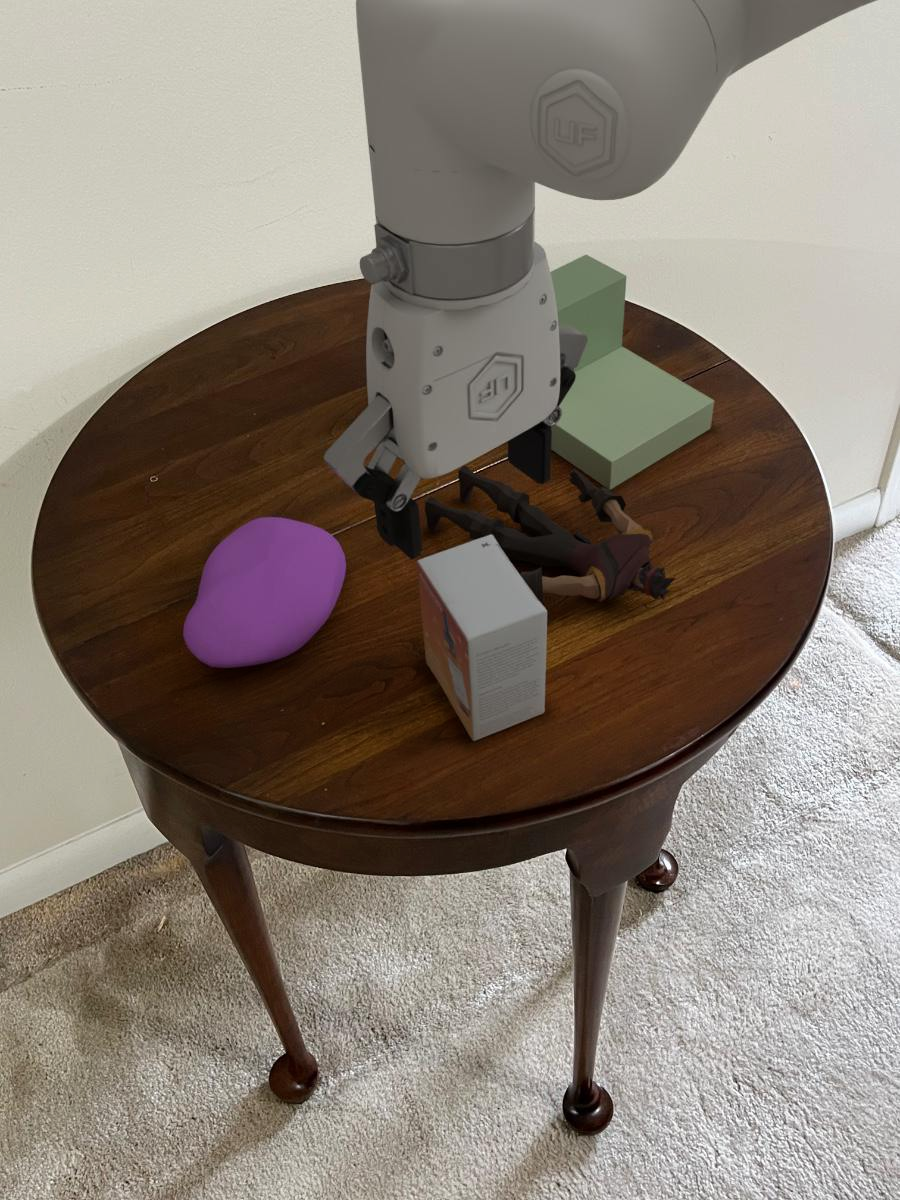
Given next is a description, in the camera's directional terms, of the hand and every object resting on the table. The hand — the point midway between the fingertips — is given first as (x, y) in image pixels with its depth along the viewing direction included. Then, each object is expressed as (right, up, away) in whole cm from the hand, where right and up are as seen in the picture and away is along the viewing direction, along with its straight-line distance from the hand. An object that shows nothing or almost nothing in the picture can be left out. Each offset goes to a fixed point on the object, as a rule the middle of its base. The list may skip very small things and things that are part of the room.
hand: (467, 507), depth 66 cm
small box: (+1, -12, +12) cm, 17 cm away
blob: (-15, -7, +18) cm, 24 cm away
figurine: (+7, -3, +20) cm, 22 cm away
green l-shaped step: (+12, +11, +32) cm, 36 cm away
